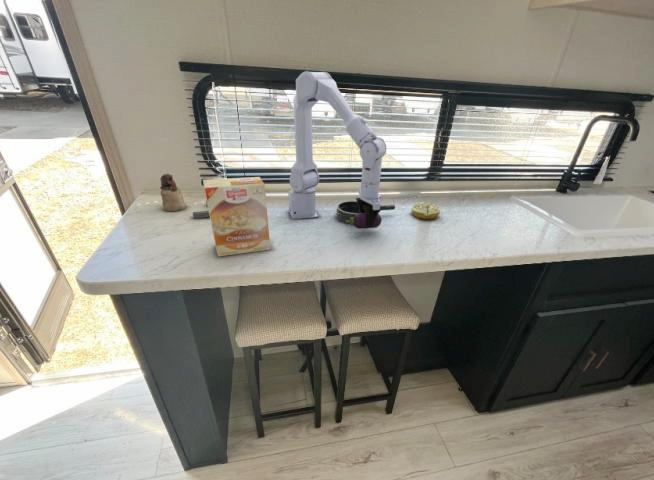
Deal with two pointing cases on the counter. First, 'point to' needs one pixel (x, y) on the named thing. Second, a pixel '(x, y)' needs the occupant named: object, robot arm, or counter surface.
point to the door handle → (201, 214)
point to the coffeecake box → (238, 215)
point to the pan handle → (387, 207)
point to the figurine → (171, 194)
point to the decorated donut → (425, 210)
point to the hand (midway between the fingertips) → (366, 223)
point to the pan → (347, 210)
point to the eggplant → (362, 221)
